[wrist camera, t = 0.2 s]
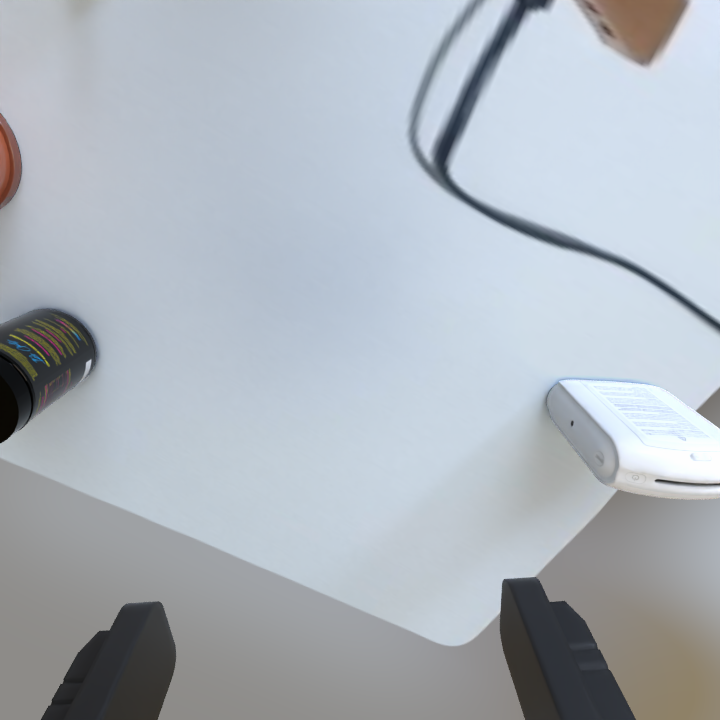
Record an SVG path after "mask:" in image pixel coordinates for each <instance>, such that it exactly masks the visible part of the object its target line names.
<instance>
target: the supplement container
mask: <svg viewBox="0 0 720 720" xmlns="http://www.w3.org/2000/svg"><path fill="white" fill-rule="evenodd" d="M95 361H96V347H95V343H94V341H93V338H92V336H91V335H90V333H89V331H88V330H87V329H86V328H85V327H84V326H83V325H82V324H81V323H80V322H79V321H78V320H76V319H75V318H74V317H72V316H70V315H68V314H66V313H63V312H60V311H56V310H50V309H38V310H34V311H31V312H28V313H26V314H24V315H21V316H19V317H17V318H14V319H12V320H10V321H7V322H5V323H3V324H0V443H2V442H4V441H5V440H7V439H8V438H9V437H11V436H12V435H13V434H14V433H16V432H17V431H19V430H20V429H22V428H23V427H24V426H25V425H26V424H27V423H28V422H29V421H30V420H32V419H33V418H34V417H36V416H37V415H38V414H40V413H41V412H42V411H43V410H45V409H46V408H47V407H49V406H50V405H51V404H53V403H54V402H55V401H56V400H58V399H59V398H60V397H62V396H63V395H64V394H66V393H67V392H68V391H69V390H71V389H72V388H73V387H75V386H76V385H77V384H79V383H80V382H81V381H82V380H84V379H85V378H86V377H87V376H88V375H89V374H90V373H91V371H92V370H93V368H94V365H95Z"/></svg>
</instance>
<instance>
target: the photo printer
mask: <svg viewBox="0 0 720 720" xmlns="http://www.w3.org/2000/svg"><path fill="white" fill-rule="evenodd" d="M547 407H548V410H549V411H550V418H551V420H552V421H553V422H554V424H555V425H556V426H557V428H558V429H559V430H560V432H561V433H562V434H563V436H564V437H565V438H566V439H567V441H568V442H569V443H570V445H571V446H572V447H573V449H574V450H575V451H576V452H577V454H578V455H579V456H580V458H581V459H582V460H583V461H584V463H585V464H586V465H587V466H588V468H589V469H590V470H591V472H592V473H593V474H594V475H595V477H596V478H597V479H598V480H599V481H600V482H601V483H603V484H605V485H607V486H610V487H612V488H615V489H619V490H622V491H626V492H630V493H635V494H641V495H647V496H654V497H662V498H672V499H715V498H720V429H719V428H718V427H716V426H715V425H714V424H712V423H711V422H709V421H708V420H707V419H705V418H704V417H702V416H701V415H700V414H698V413H697V412H696V411H694V410H693V409H691V408H690V407H688V406H687V405H686V404H684V403H683V402H682V401H680V400H679V399H677V398H676V397H675V396H673V395H672V394H671V393H669V392H668V391H666V390H664V389H662V388H659V387H656V386H652V385H646V384H637V383H625V382H611V381H596V380H561V381H559V382H558V384H556V385H555V386H554V387H553V388H552V389H551V390H550V392H549V394H548V397H547Z"/></svg>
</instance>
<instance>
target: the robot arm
mask: <svg viewBox="0 0 720 720" xmlns="http://www.w3.org/2000/svg"><path fill="white" fill-rule="evenodd" d="M500 634H501V641H502V646H503V651H504V654H505V658H506V661H507V664H508V667H509V670H510V673H511V677H512V680H513V683H514V685H515V689H516V692H517V695H518V699H519V702H520V705H521V708H522V711H523V714H524V717H525V720H636V719H635V717H634V715H633V713H632V711H631V709H630V707H629V705H628V704H627V701H626V700H625V698H624V696H623V694H622V692H621V690H620V688H619V686H618V684H617V682H616V680H615V678H614V676H613V674H612V673H611V671H610V670H609V669H608V666H607V663H606V661H605V659H604V657H603V655H602V653H601V651H600V650H598V648H597V644H596V642H595V640H594V638H593V636H592V634H591V632H590V630H589V628H588V626H587V624H586V622H585V621H584V620H583V619H582V618H581V617H580V616H579V615H578V614H577V613H576V612H575V611H574V610H573V609H572V608H571V607H570V606H569V605H568V604H567V603H566V602H565V601H559V602H549V600H548V598H547V596H546V594H545V591H544V589H543V587H542V585H541V583H540V581H539V580H538V579H537V578H536V577H530V578H515V579H504V580H503V583H502V597H501V613H500ZM175 662H176V649H175V643H174V640H173V637H172V634H171V630H170V627H169V624H168V620H167V617H166V614H165V611H164V608H163V605H162V603H160V602H143V603H128V604H125V605H124V606H123V607H122V608H121V610H120V612H119V613H118V615H117V617H116V619H115V621H114V623H113V625H112V627H111V629H110V630H109V631H99V632H98V633H97V634H96V635H95V636H94V637H93V638H92V639H91V640H90V641H89V642H88V643H87V644H86V645H85V646H84V647H83V649H82V650H81V651H80V652H79V653H78V654H77V656H76V658H75V659H74V661H73V663H72V665H71V667H70V669H69V670H68V672H67V674H66V676H65V678H64V682H63V684H61V685H60V686H59V688H58V690H57V692H56V693H55V695H54V697H53V699H52V704H51V705H50V706H48V708H47V710H46V711H45V713H44V715H43V717H42V719H41V720H157V719H158V717H159V714H160V711H161V708H162V705H163V702H164V699H165V696H166V694H167V691H168V688H169V685H170V682H171V679H172V676H173V672H174V668H175Z"/></svg>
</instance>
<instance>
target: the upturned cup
mask: <svg viewBox="0 0 720 720" xmlns="http://www.w3.org/2000/svg"><path fill="white" fill-rule="evenodd" d="M20 178H21V157H20V152H19V148H18V144H17V142H16V139H15V136H14V134H13V132H12V130H11V128H10V127H9V125H8V123H7V122H6V120H5V119H4V117H3V116H2V115H1V113H0V209H1V208H3V207H4V206H5V205H6V204H7V203H8V202H9V201H10V200H11V199H12V197H13V196H14V195H15V193H16V191H17V189H18V186H19V182H20Z"/></svg>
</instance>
